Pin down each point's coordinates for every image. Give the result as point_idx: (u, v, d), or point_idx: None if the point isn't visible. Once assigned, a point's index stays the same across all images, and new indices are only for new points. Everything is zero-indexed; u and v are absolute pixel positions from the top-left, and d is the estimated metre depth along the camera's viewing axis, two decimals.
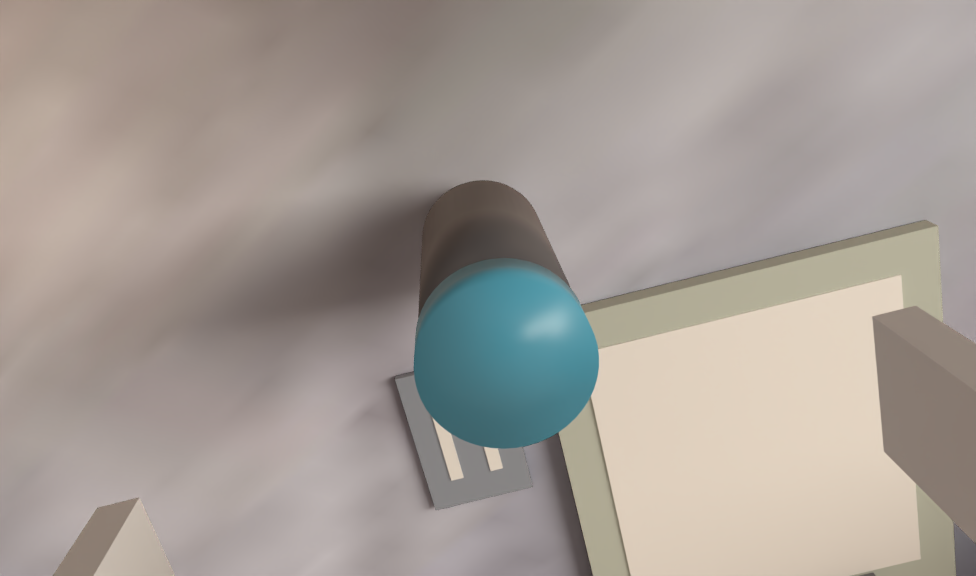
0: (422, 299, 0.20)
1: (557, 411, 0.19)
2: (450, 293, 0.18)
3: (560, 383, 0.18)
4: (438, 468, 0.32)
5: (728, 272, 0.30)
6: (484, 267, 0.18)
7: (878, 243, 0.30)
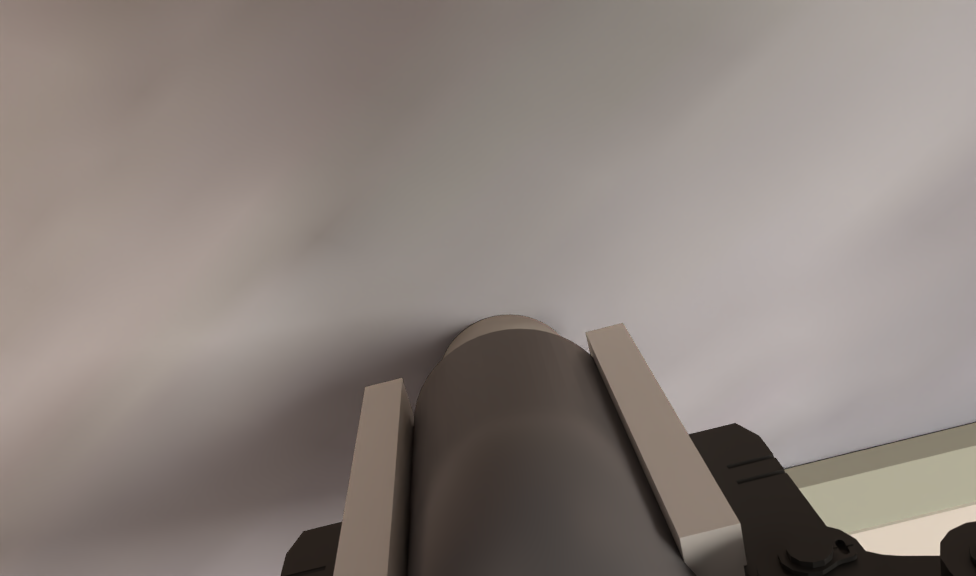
0: None
1: None
2: None
3: None
4: None
5: (898, 450, 0.19)
6: None
7: None
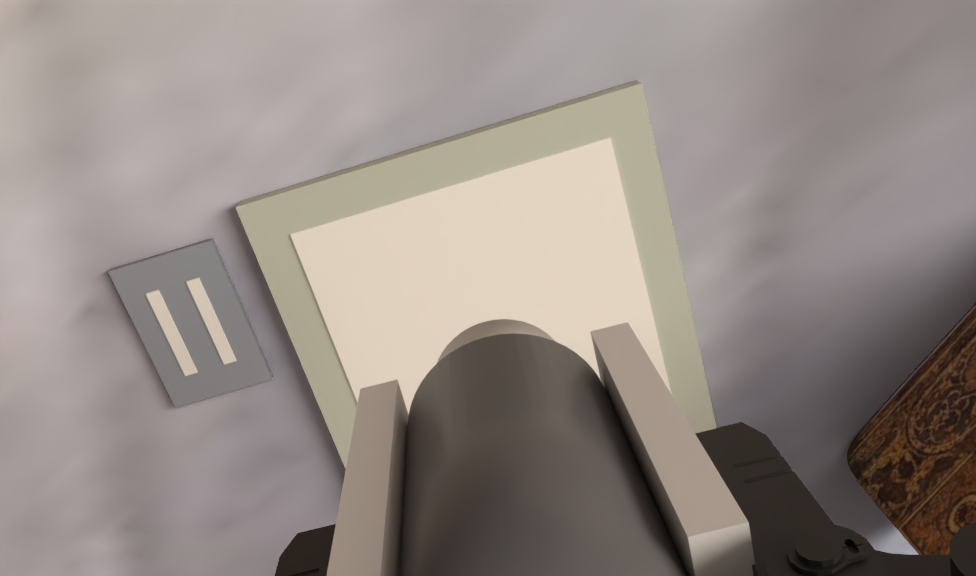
0: None
1: None
2: None
3: None
4: (170, 363, 0.32)
5: (434, 143, 0.30)
6: None
7: (582, 105, 0.29)
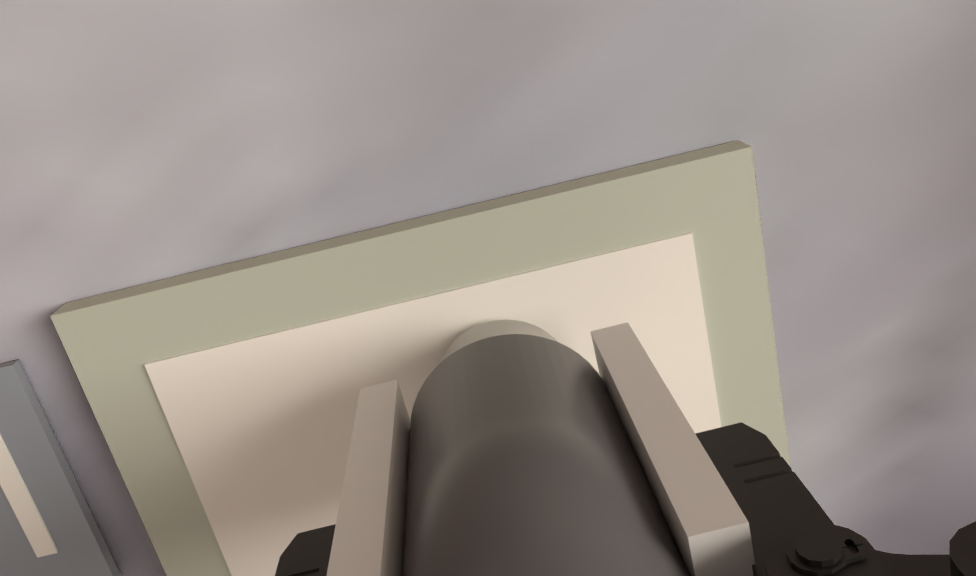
0: None
1: None
2: None
3: None
4: None
5: (396, 226, 0.18)
6: None
7: (649, 177, 0.17)
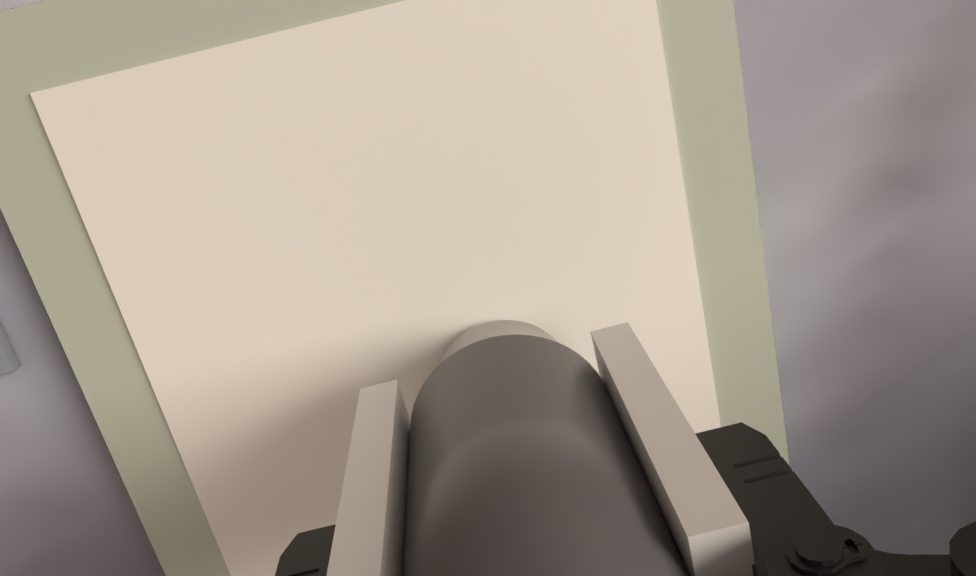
0: None
1: None
2: None
3: None
4: None
5: None
6: None
7: None
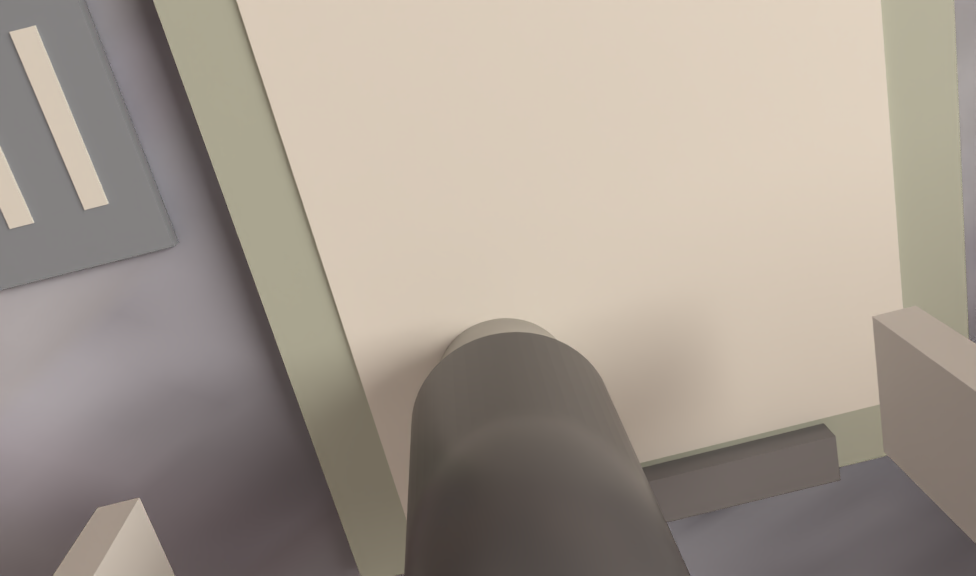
0: None
1: None
2: None
3: None
4: None
5: None
6: None
7: None
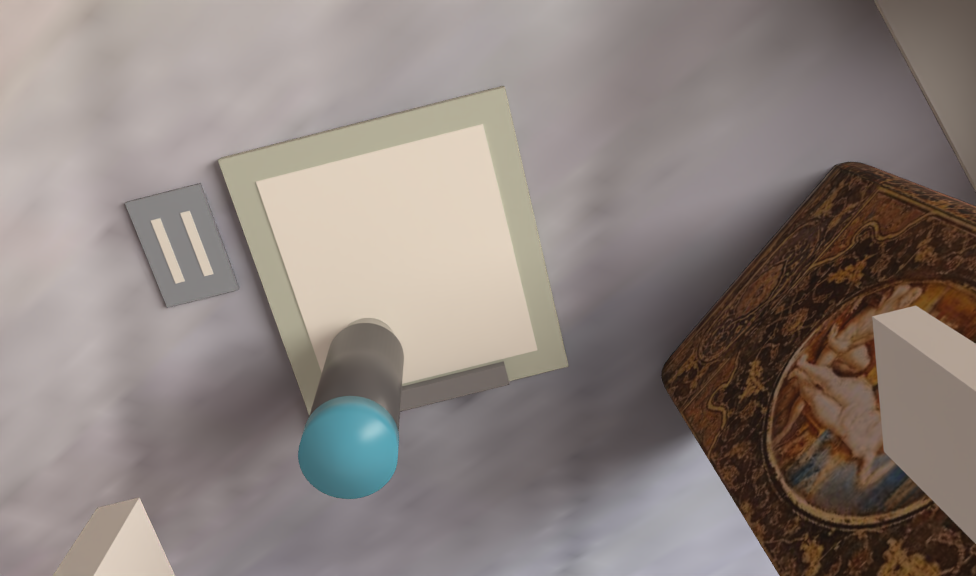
0: None
1: (377, 479, 0.35)
2: (316, 418, 0.34)
3: (377, 464, 0.35)
4: (165, 273, 0.44)
5: (360, 122, 0.42)
6: (337, 402, 0.35)
7: (463, 100, 0.42)
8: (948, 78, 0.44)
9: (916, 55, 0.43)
